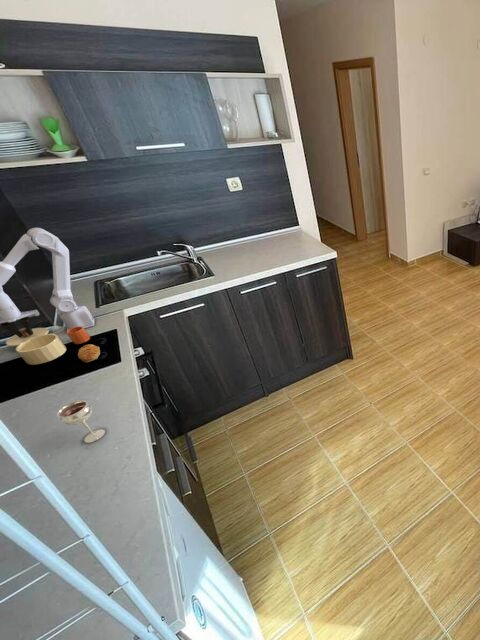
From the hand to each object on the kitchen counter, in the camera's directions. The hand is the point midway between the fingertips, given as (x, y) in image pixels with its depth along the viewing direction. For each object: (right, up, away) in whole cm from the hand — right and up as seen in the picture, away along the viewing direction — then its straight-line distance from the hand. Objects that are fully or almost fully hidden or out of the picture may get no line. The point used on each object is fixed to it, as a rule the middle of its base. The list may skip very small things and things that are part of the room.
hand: (26, 335), depth 145 cm
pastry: (+33, -8, -5) cm, 34 cm away
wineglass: (+66, -30, -39) cm, 82 cm away
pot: (+14, -8, -5) cm, 16 cm away
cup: (+19, -2, +4) cm, 20 cm away
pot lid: (0, -1, +1) cm, 1 cm away
